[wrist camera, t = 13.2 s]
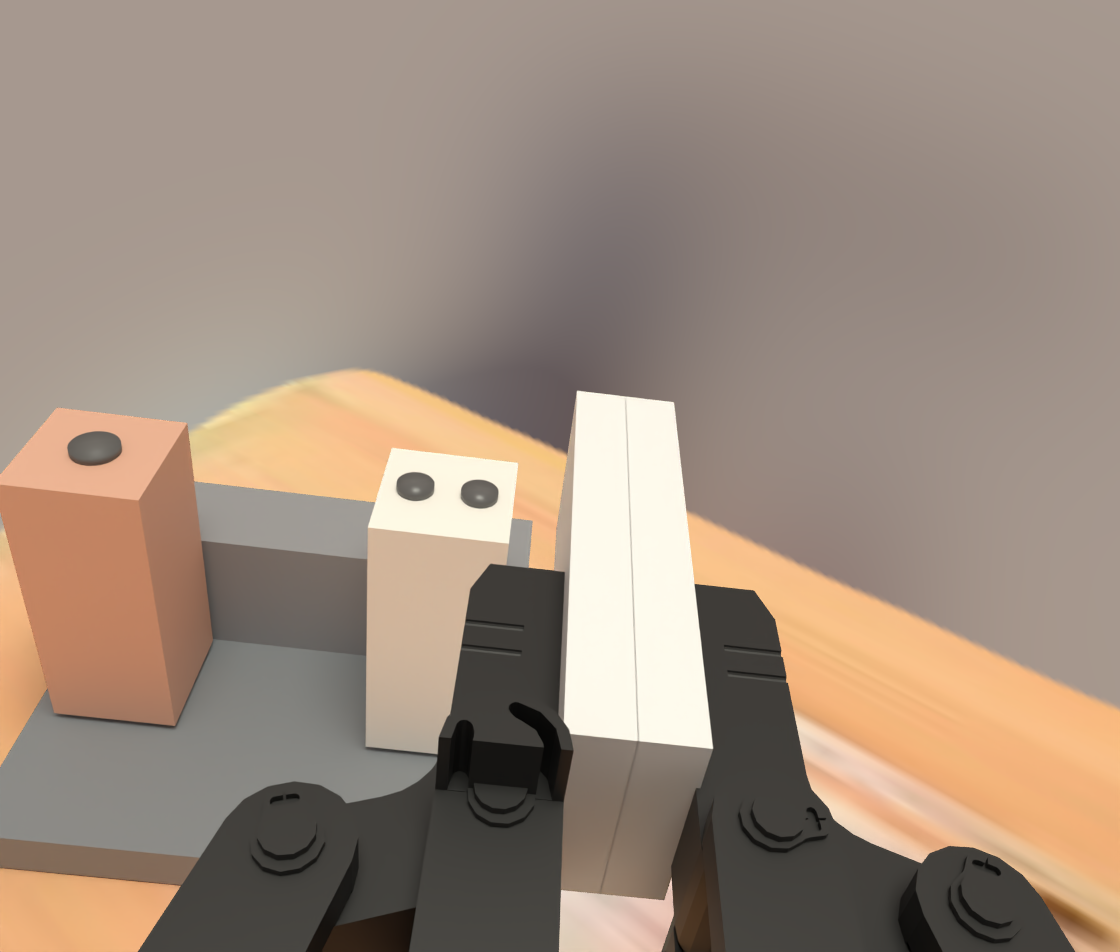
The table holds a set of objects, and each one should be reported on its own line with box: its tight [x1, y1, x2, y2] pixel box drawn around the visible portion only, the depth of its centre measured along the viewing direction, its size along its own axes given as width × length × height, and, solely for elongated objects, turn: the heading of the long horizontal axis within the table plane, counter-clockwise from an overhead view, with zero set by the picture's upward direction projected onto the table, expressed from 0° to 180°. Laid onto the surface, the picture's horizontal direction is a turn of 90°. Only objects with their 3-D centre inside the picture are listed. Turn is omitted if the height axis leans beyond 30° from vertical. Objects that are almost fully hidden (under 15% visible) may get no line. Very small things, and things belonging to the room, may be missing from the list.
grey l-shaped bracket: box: [0, 482, 532, 885], centre depth 42 cm, size 15×20×8 cm
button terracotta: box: [0, 408, 213, 726], centre depth 40 cm, size 5×5×12 cm
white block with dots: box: [366, 448, 518, 754], centre depth 40 cm, size 5×5×12 cm
